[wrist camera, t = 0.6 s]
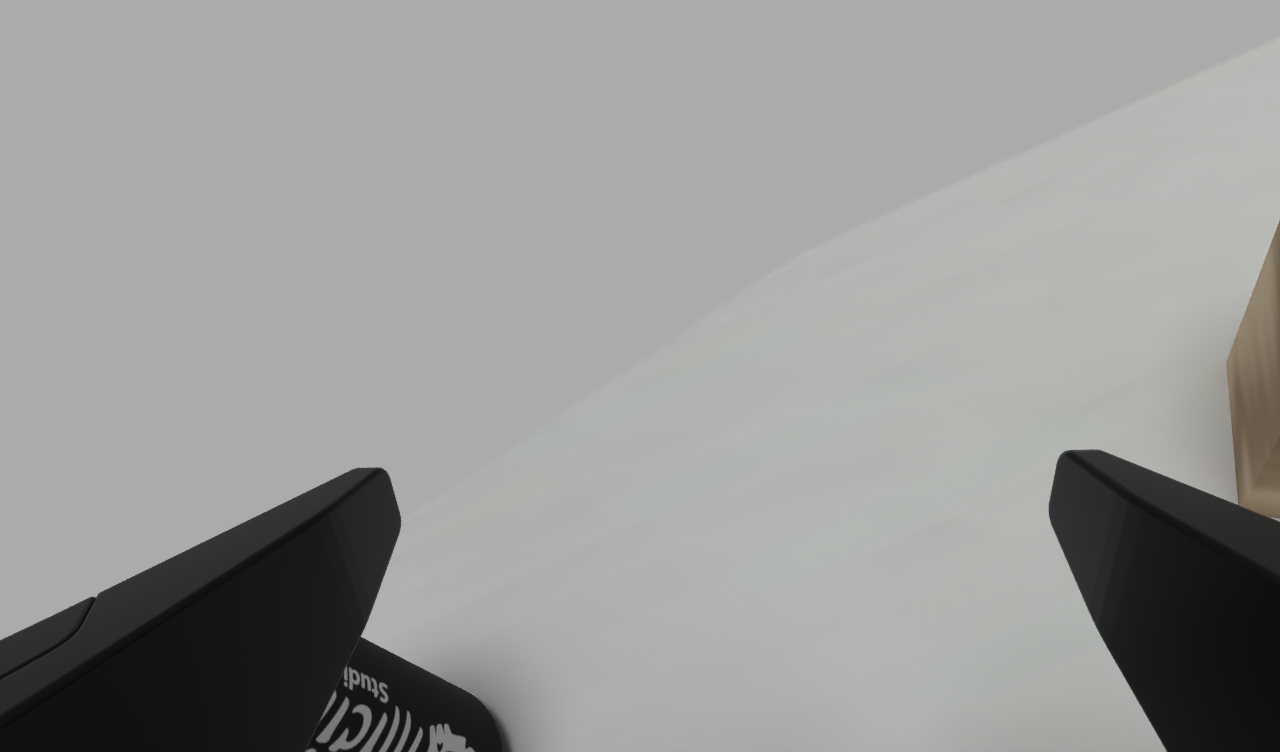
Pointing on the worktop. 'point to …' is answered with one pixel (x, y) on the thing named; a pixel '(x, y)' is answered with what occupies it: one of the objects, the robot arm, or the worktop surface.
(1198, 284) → the worktop surface
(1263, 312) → the tall wooden block
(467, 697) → the beverage can
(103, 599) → the robot arm
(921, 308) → the worktop surface
